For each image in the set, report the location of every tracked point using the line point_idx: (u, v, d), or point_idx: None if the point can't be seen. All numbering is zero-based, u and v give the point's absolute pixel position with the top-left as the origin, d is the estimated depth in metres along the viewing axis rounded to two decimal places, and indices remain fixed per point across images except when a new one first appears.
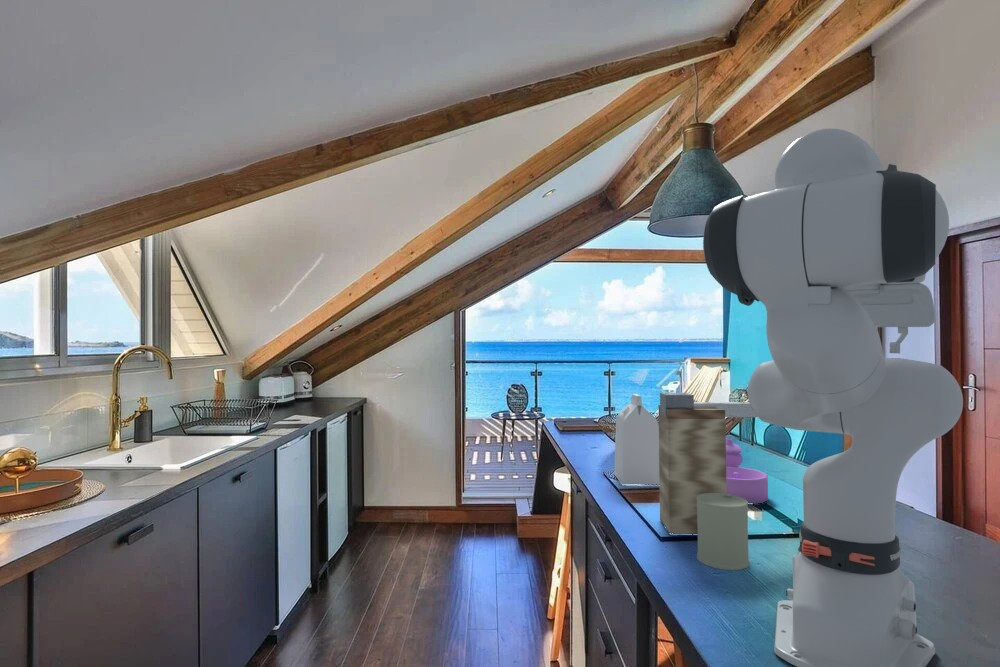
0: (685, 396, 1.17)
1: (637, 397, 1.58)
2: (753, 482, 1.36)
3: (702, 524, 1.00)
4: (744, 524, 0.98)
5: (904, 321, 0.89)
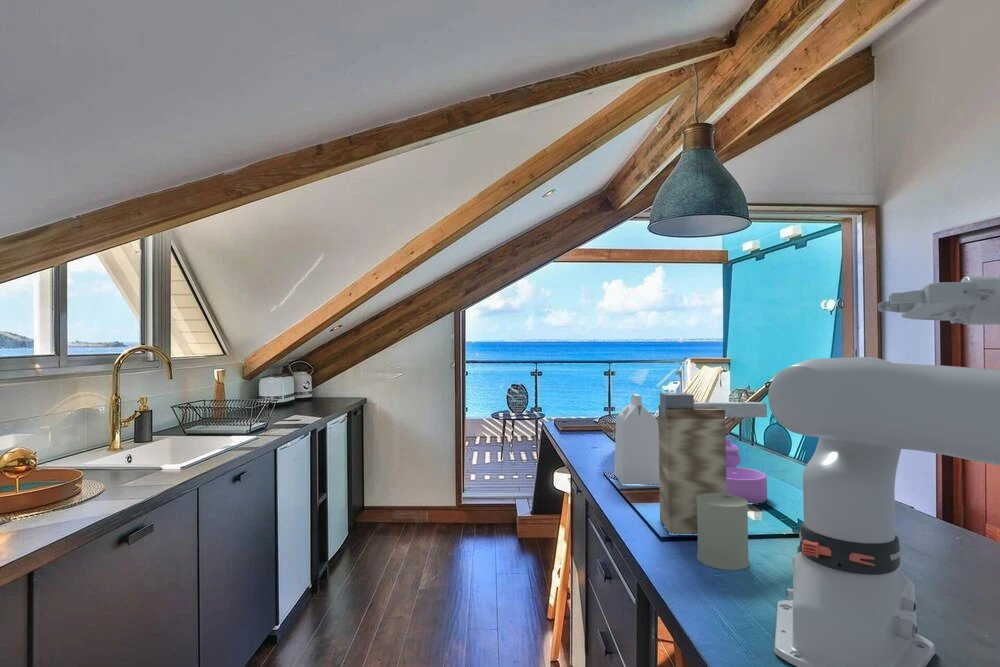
0: (685, 396, 1.17)
1: (637, 397, 1.58)
2: (753, 482, 1.36)
3: (702, 524, 1.00)
4: (744, 524, 0.98)
5: (911, 315, 1.05)
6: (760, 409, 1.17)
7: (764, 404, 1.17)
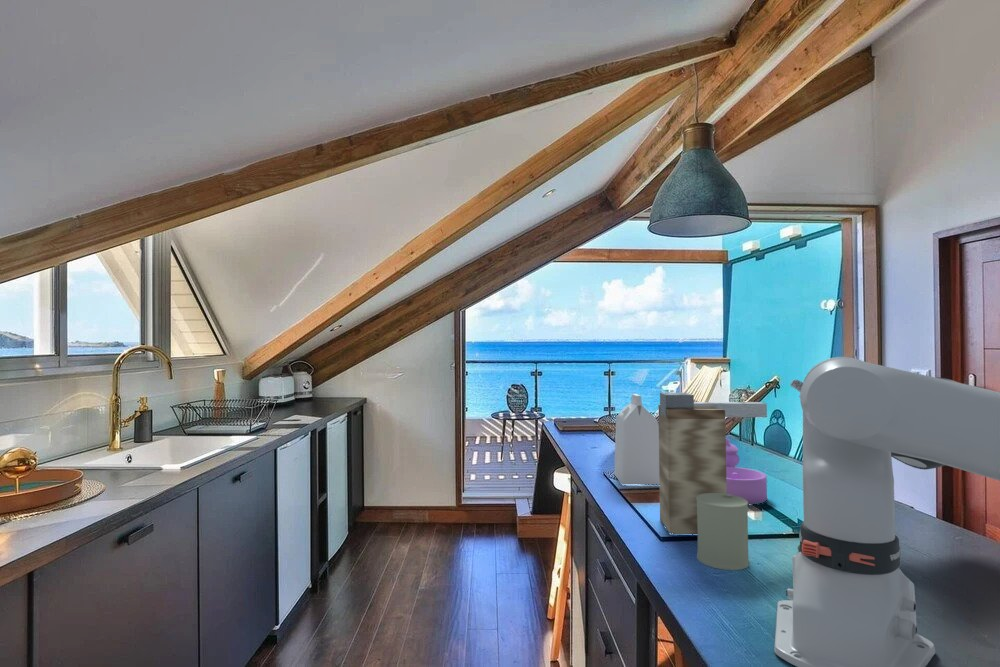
0: (685, 396, 1.17)
1: (637, 397, 1.58)
2: (753, 482, 1.36)
3: (702, 524, 1.00)
4: (744, 524, 0.98)
5: None
6: (760, 409, 1.17)
7: (764, 404, 1.17)
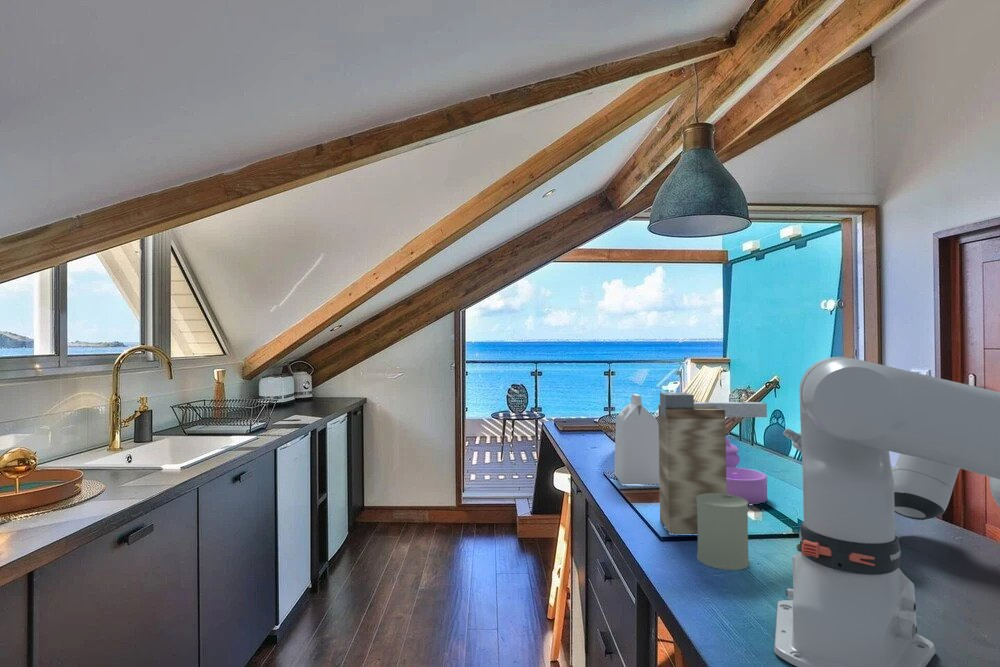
0: (685, 396, 1.17)
1: (637, 397, 1.58)
2: (753, 482, 1.36)
3: (702, 524, 1.00)
4: (744, 524, 0.98)
5: (801, 449, 1.23)
6: (760, 409, 1.17)
7: (764, 404, 1.17)
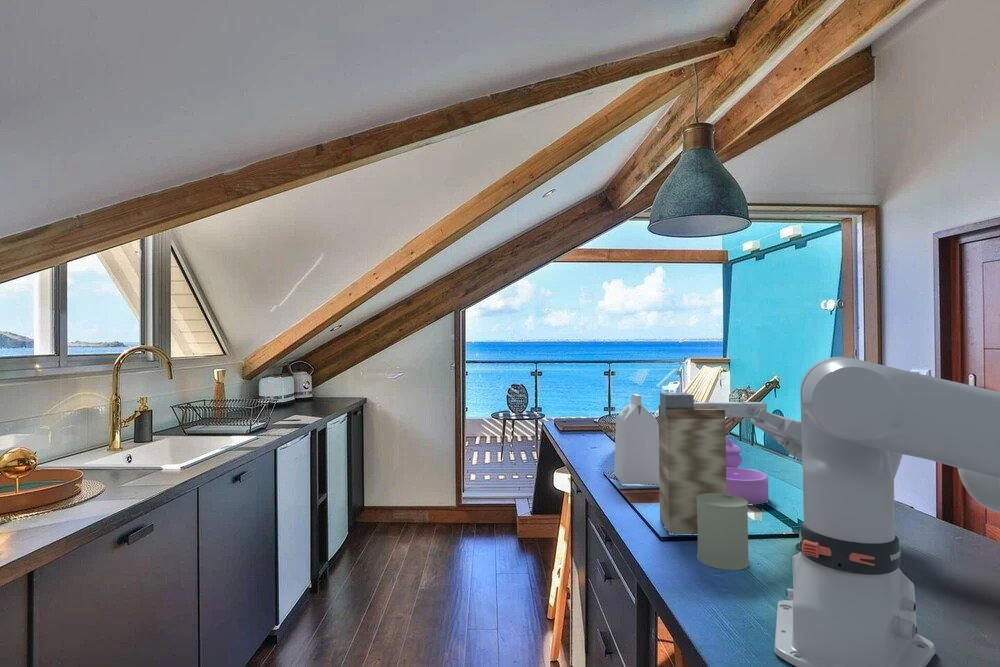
0: (685, 396, 1.17)
1: (637, 397, 1.58)
2: (754, 483, 1.35)
3: (702, 524, 1.00)
4: (744, 524, 0.98)
5: (758, 425, 1.24)
6: None
7: (764, 404, 1.17)
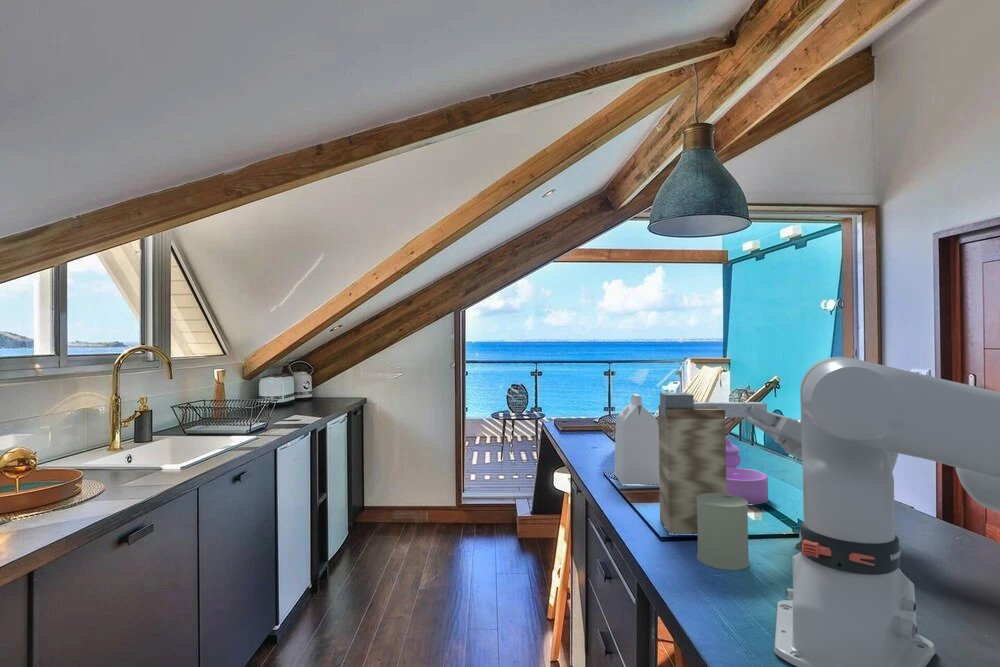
0: (685, 396, 1.17)
1: (637, 397, 1.58)
2: (754, 483, 1.35)
3: (702, 524, 1.00)
4: (744, 524, 0.98)
5: (755, 423, 1.24)
6: None
7: (764, 404, 1.16)
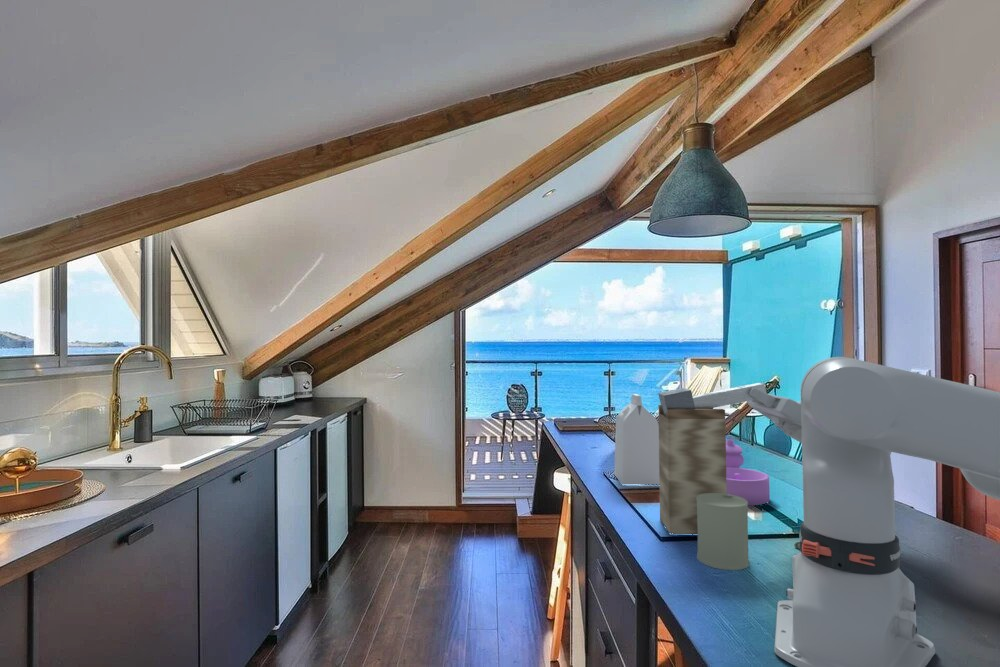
0: (683, 393, 1.17)
1: (637, 397, 1.58)
2: (755, 483, 1.35)
3: (702, 524, 1.00)
4: (744, 524, 0.98)
5: (754, 406, 1.24)
6: (759, 390, 1.17)
7: (762, 385, 1.17)
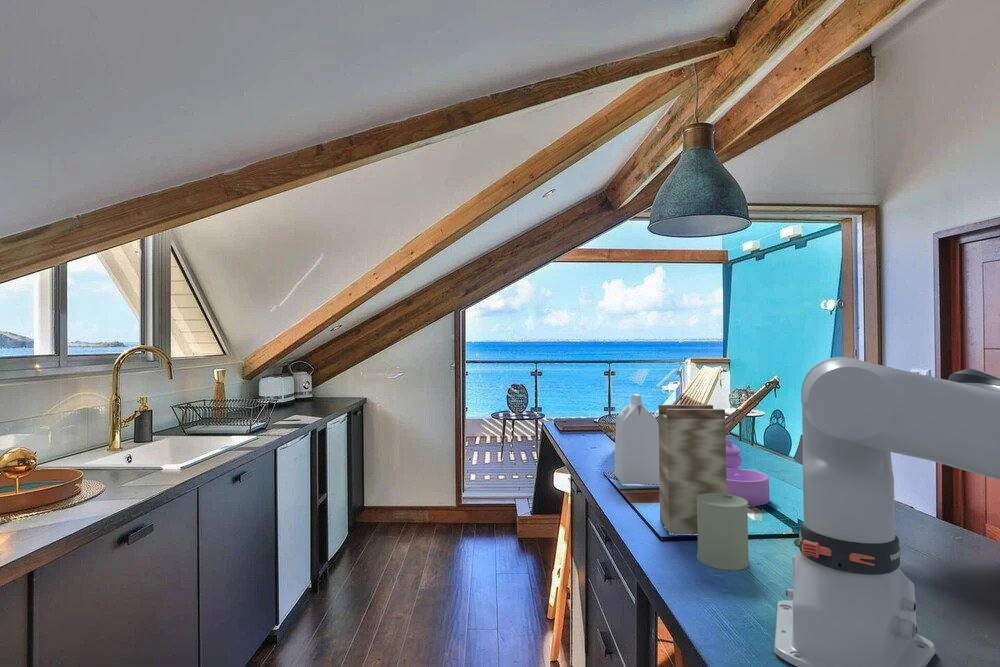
0: None
1: (637, 397, 1.58)
2: (755, 484, 1.34)
3: (702, 524, 1.00)
4: (744, 524, 0.98)
5: None
6: None
7: None
